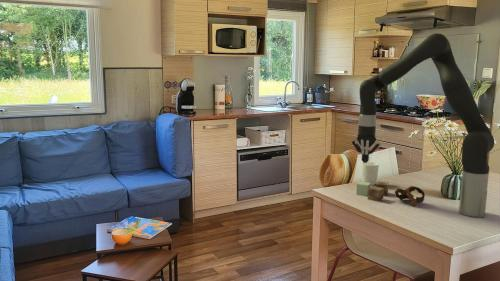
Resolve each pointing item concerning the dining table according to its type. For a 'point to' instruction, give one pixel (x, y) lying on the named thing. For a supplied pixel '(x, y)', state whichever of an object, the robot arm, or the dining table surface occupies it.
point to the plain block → (363, 188)
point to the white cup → (370, 172)
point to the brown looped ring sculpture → (410, 195)
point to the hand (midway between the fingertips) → (364, 162)
